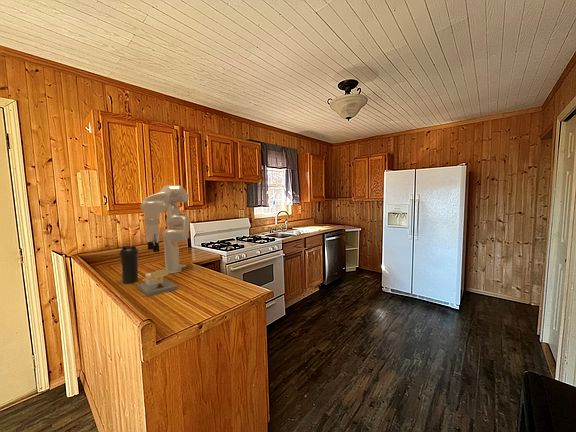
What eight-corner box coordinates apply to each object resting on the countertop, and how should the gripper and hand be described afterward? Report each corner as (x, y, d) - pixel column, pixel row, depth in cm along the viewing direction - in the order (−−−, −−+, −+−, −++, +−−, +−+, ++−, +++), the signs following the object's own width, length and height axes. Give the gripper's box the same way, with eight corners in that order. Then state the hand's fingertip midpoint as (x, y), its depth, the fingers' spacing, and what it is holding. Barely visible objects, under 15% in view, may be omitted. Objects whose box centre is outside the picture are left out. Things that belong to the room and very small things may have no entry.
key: (142, 291, 139) (141, 274, 139) (165, 284, 152) (165, 268, 151) (145, 292, 138) (144, 275, 138) (168, 284, 150) (167, 269, 150)
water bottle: (123, 280, 168) (121, 245, 166) (140, 278, 171) (139, 244, 170) (119, 285, 158) (117, 248, 157) (137, 282, 162) (136, 246, 160)
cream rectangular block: (159, 280, 159) (159, 271, 159) (163, 282, 155) (162, 273, 155) (145, 283, 154) (145, 273, 153) (148, 286, 149) (148, 275, 149)
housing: (165, 281, 164) (165, 278, 163) (177, 289, 149) (177, 285, 149) (137, 287, 152) (137, 284, 152) (147, 296, 138) (147, 292, 138)
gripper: (140, 221, 155) (142, 249, 157) (149, 223, 143) (151, 253, 144) (154, 220, 161) (155, 247, 162) (164, 222, 148) (165, 251, 149)
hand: (153, 250), depth 153 cm, fingers open, 9 cm apart
